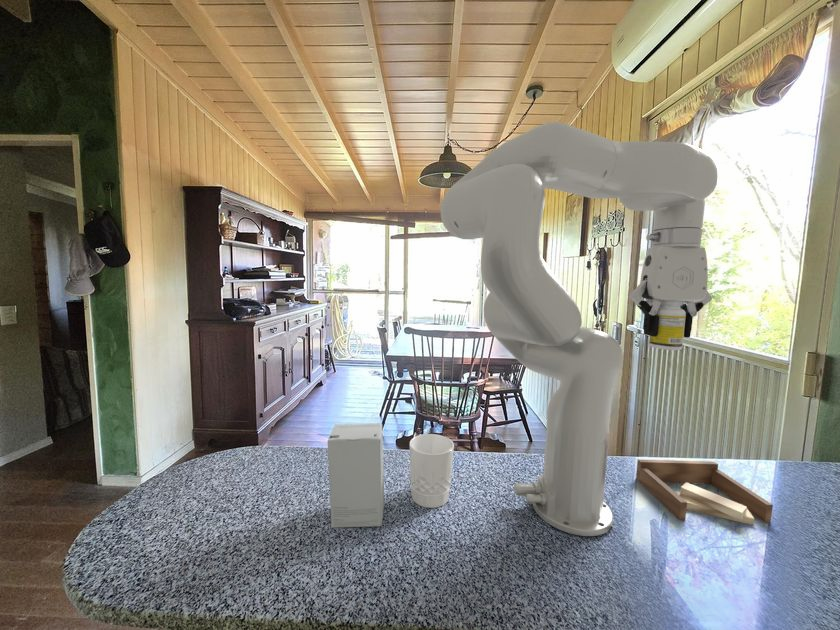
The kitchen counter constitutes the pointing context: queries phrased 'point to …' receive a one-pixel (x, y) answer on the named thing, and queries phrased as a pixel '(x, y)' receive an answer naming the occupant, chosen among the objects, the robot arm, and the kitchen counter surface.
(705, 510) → the middle offcut
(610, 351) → the robot arm
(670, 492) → the walnut rack
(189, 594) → the kitchen counter surface
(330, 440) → the skincare box
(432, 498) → the white cup
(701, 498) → the top offcut
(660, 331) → the supplement bottle
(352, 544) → the kitchen counter surface
